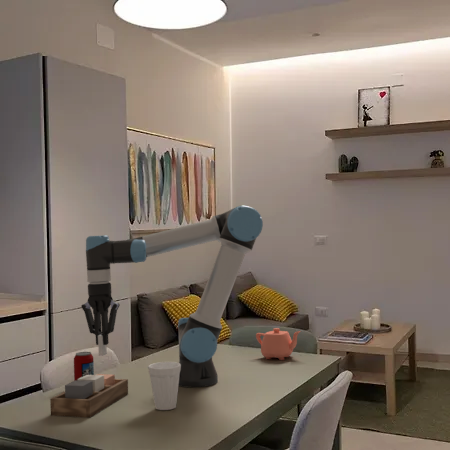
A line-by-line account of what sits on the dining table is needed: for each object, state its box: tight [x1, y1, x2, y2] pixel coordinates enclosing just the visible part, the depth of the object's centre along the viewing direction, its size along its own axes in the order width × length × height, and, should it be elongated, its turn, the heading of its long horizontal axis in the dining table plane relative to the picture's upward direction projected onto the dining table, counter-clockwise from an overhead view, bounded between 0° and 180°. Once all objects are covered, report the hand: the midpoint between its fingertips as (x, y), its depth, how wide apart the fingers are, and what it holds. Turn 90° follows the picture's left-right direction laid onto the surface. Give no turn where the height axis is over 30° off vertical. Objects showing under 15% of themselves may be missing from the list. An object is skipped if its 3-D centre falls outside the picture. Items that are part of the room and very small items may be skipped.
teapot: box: [255, 327, 302, 361], centre depth 255 cm, size 13×20×12 cm, turn 65°
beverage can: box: [73, 351, 95, 381], centre depth 215 cm, size 7×7×12 cm
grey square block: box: [64, 380, 93, 399], centre depth 186 cm, size 6×6×4 cm
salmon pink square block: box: [96, 373, 116, 386], centre depth 201 cm, size 6×6×4 cm
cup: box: [147, 361, 181, 411], centre depth 187 cm, size 10×10×13 cm
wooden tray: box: [49, 378, 129, 419], centre depth 193 cm, size 13×26×5 cm, turn 164°
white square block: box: [78, 374, 104, 392], centre depth 193 cm, size 6×6×4 cm
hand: (102, 354), depth 201 cm, fingers closed
